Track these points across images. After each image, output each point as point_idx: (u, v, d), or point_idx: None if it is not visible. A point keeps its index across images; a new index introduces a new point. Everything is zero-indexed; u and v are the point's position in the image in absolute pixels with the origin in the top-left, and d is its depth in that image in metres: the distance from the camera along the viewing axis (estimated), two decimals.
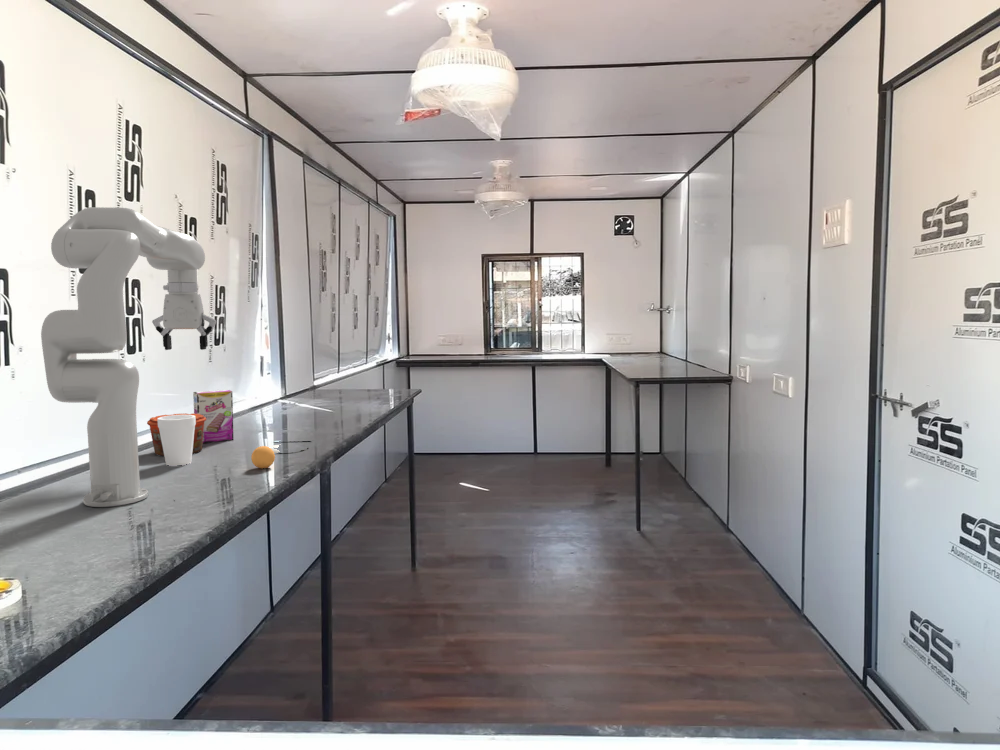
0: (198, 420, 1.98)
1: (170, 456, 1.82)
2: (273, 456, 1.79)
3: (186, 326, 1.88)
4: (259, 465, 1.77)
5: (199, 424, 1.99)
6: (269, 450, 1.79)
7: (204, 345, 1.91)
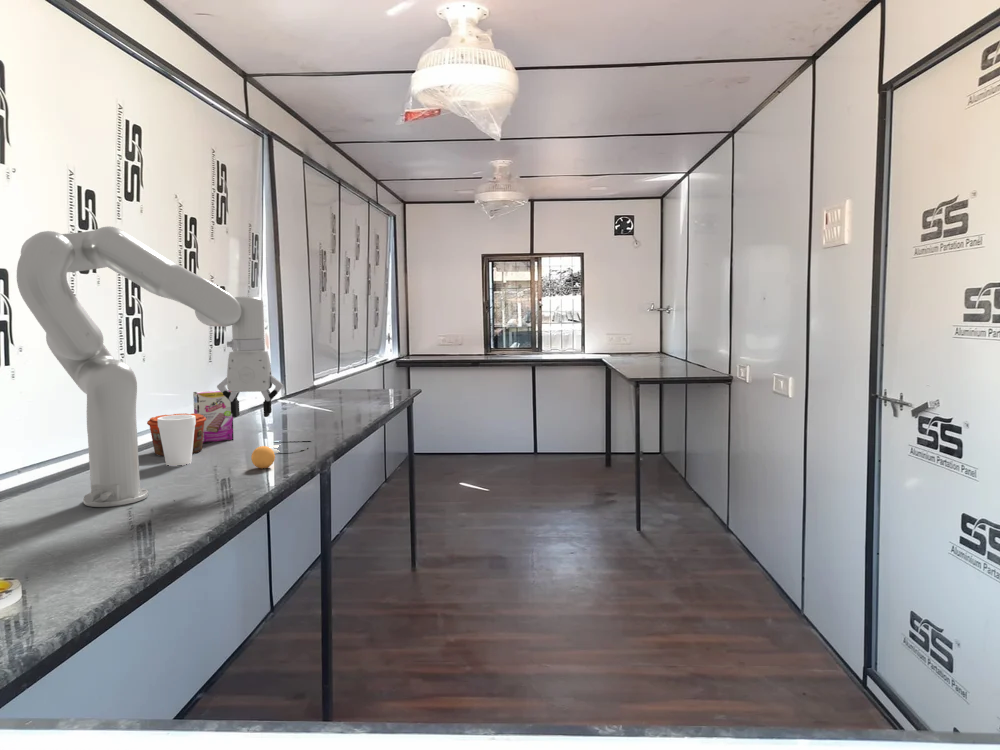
0: (198, 420, 1.98)
1: (170, 456, 1.82)
2: (273, 456, 1.79)
3: (253, 388, 1.66)
4: (259, 465, 1.77)
5: (199, 424, 1.99)
6: (269, 450, 1.79)
7: (268, 412, 1.69)
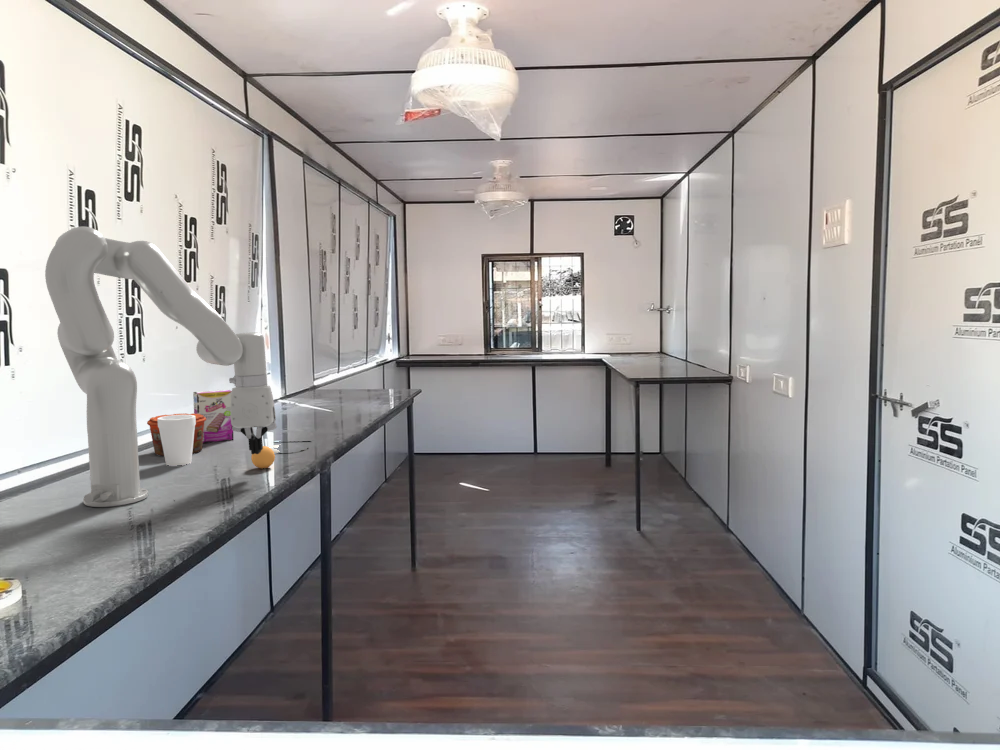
0: (198, 420, 1.98)
1: (170, 456, 1.82)
2: (273, 456, 1.79)
3: (257, 424, 1.67)
4: (259, 465, 1.77)
5: (199, 424, 1.99)
6: (269, 450, 1.79)
7: (259, 448, 1.70)
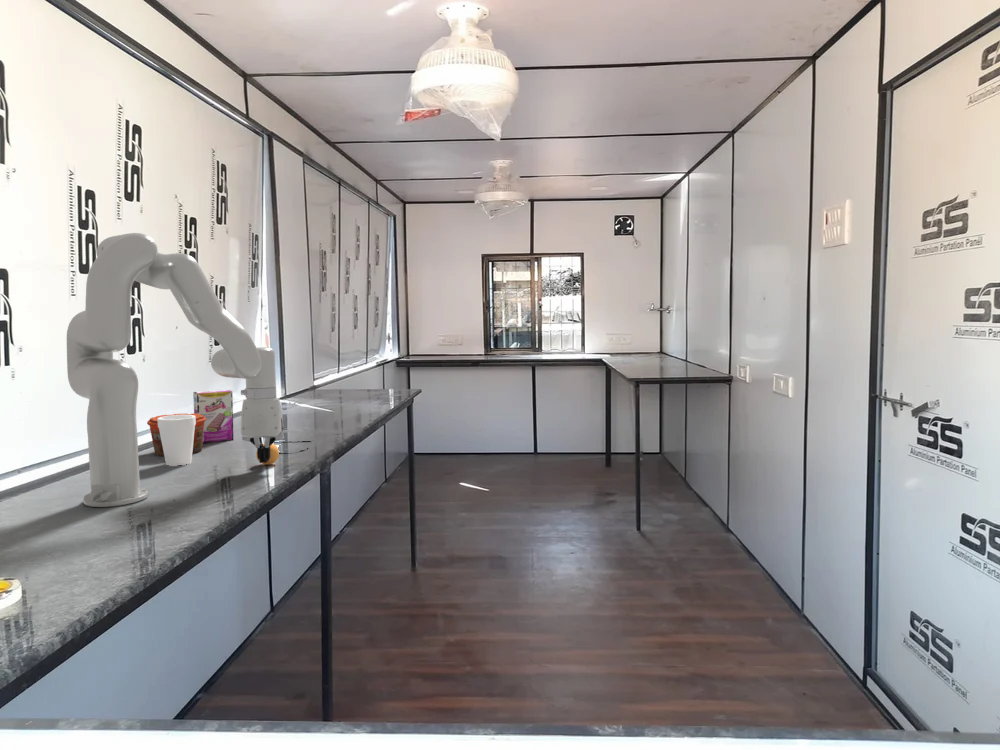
0: (198, 420, 1.98)
1: (170, 456, 1.82)
2: (278, 451, 1.84)
3: (265, 434, 1.76)
4: None
5: (199, 424, 1.99)
6: None
7: (267, 457, 1.79)
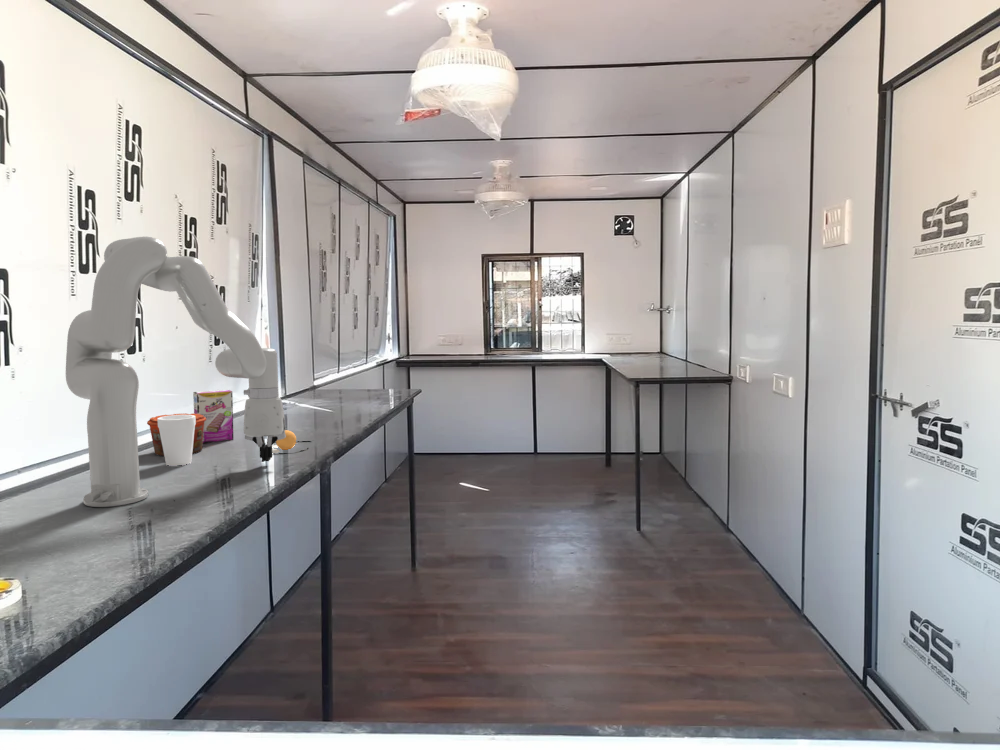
0: (198, 420, 1.98)
1: (170, 456, 1.82)
2: (295, 437, 2.04)
3: (268, 433, 1.79)
4: None
5: (199, 424, 1.99)
6: None
7: (269, 456, 1.82)
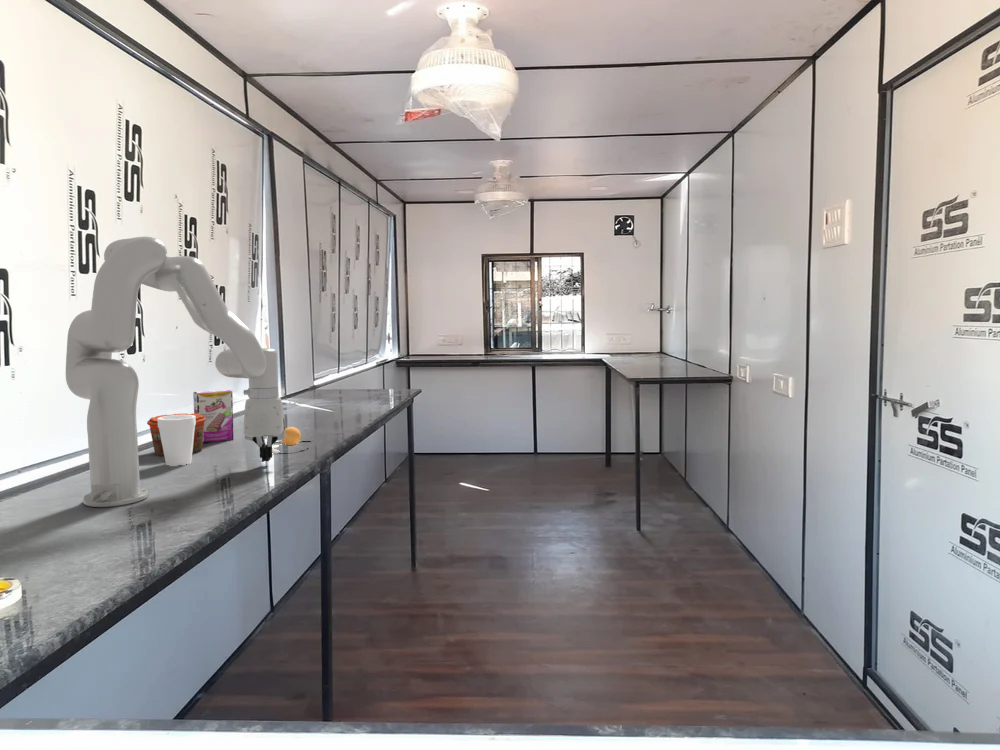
0: (198, 420, 1.98)
1: (170, 456, 1.82)
2: (300, 437, 2.10)
3: (268, 433, 1.79)
4: None
5: (199, 424, 1.99)
6: (297, 443, 2.10)
7: (269, 456, 1.82)
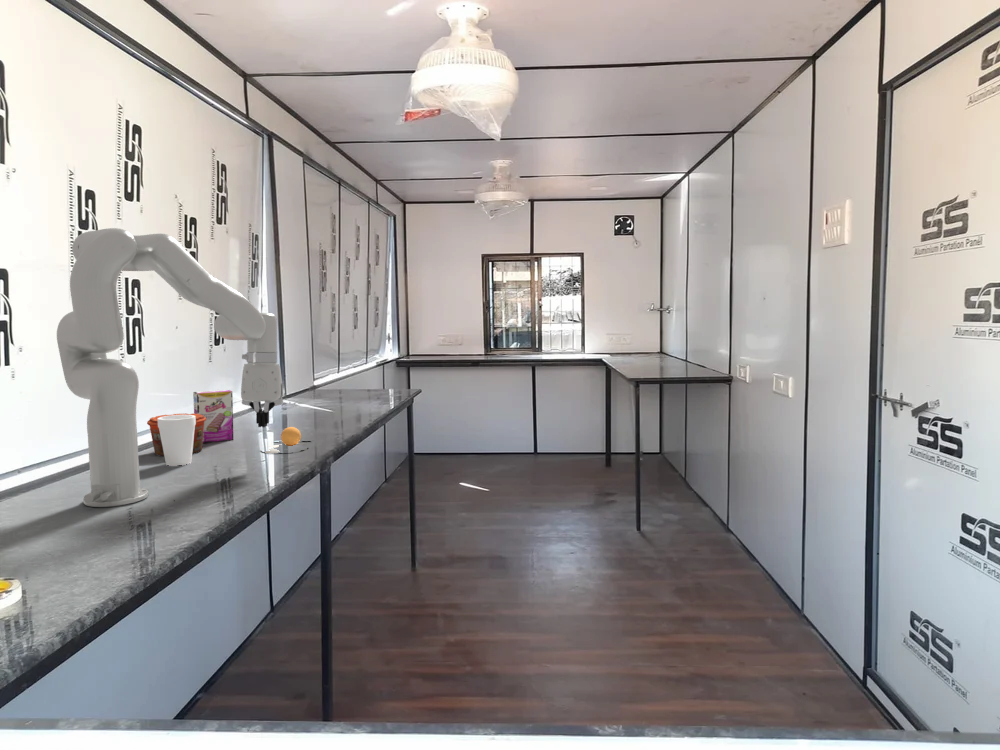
0: (198, 420, 1.98)
1: (170, 456, 1.82)
2: (300, 437, 2.10)
3: (265, 398, 1.78)
4: None
5: (199, 424, 1.99)
6: (297, 443, 2.10)
7: (266, 422, 1.81)
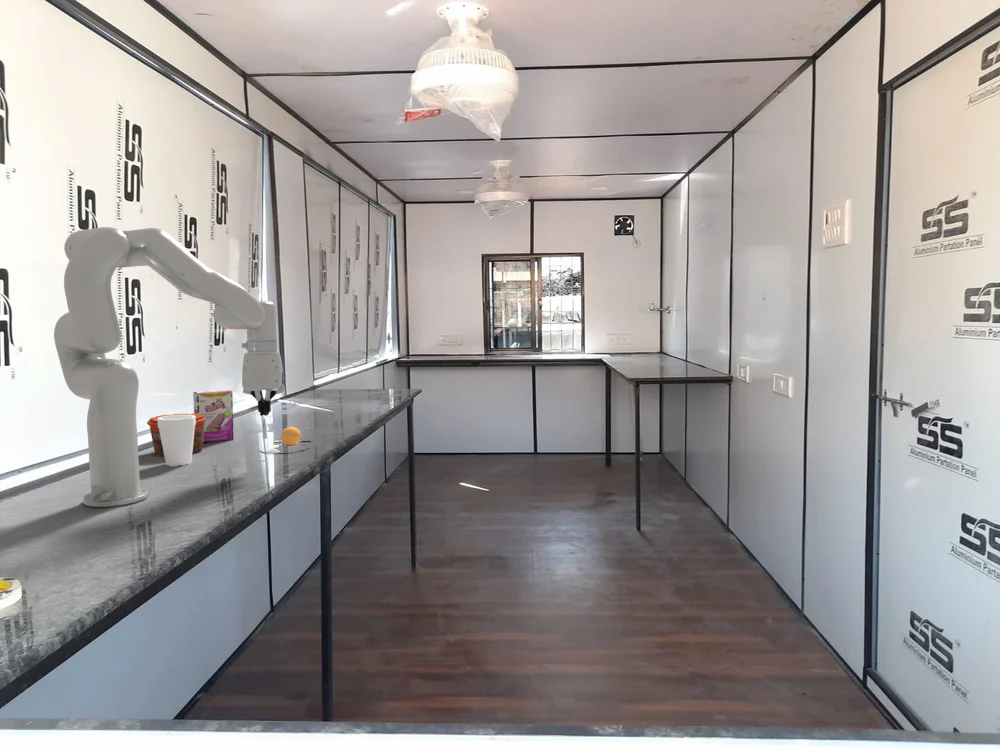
0: (198, 420, 1.98)
1: (170, 456, 1.82)
2: (300, 437, 2.10)
3: (266, 387, 1.78)
4: None
5: (199, 424, 1.99)
6: (297, 443, 2.10)
7: (267, 410, 1.81)
